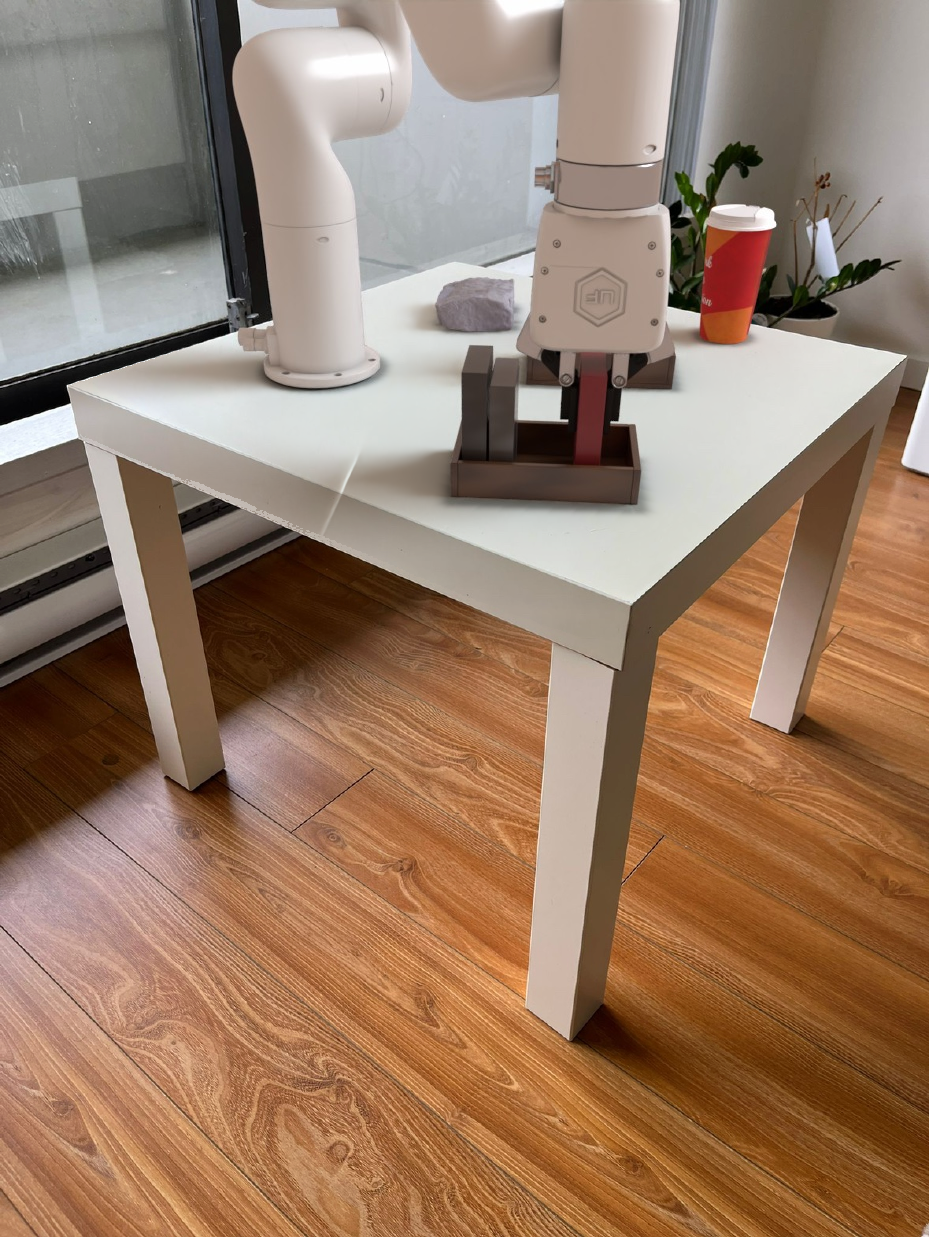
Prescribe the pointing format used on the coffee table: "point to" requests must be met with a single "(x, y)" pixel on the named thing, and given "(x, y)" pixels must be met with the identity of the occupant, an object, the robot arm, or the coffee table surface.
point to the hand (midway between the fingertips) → (588, 426)
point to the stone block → (477, 305)
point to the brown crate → (530, 446)
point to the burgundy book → (590, 408)
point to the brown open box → (647, 377)
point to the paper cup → (733, 270)
